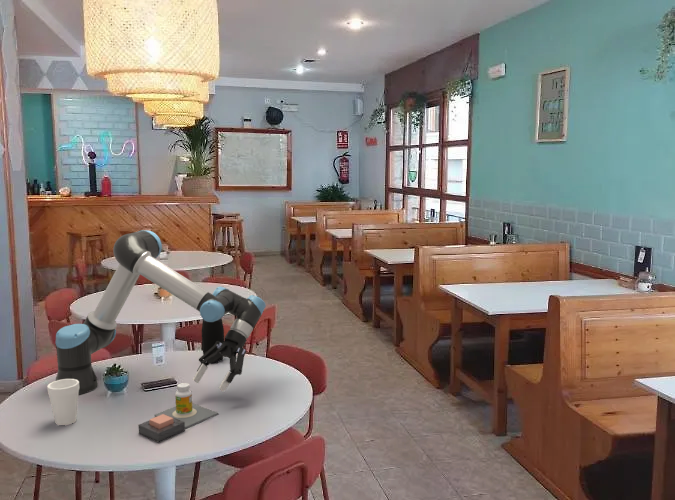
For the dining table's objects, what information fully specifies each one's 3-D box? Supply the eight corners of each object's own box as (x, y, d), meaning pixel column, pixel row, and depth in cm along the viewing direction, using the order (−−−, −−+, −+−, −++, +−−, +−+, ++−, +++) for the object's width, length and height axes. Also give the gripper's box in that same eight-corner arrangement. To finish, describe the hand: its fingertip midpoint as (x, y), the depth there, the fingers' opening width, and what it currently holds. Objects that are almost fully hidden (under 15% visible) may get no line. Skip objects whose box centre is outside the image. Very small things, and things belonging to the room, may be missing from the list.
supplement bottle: (173, 415, 202) (172, 387, 201) (179, 408, 208) (178, 381, 206) (189, 416, 202) (187, 388, 200) (194, 409, 207) (193, 382, 205)
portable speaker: (228, 360, 259) (227, 316, 256) (210, 366, 252) (209, 320, 249) (216, 356, 265) (215, 312, 262) (198, 361, 258) (197, 317, 255)
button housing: (138, 433, 190) (138, 424, 190) (165, 422, 198) (164, 414, 198) (158, 442, 184) (158, 433, 184) (184, 430, 192) (184, 422, 192)
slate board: (154, 416, 203) (154, 414, 203) (187, 403, 214) (187, 401, 214) (185, 429, 194) (185, 426, 193) (218, 414, 205) (218, 412, 205)
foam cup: (69, 429, 194) (66, 390, 192) (43, 426, 196) (41, 388, 194) (87, 416, 203) (84, 379, 201) (62, 414, 205) (60, 377, 203)
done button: (149, 425, 190) (149, 419, 190) (163, 419, 194) (163, 414, 194) (159, 430, 187) (159, 423, 187) (173, 424, 191) (173, 418, 191)
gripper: (268, 345, 216) (238, 398, 207) (220, 333, 231) (191, 382, 222) (257, 334, 211) (226, 388, 202) (209, 323, 226) (178, 373, 217)
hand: (208, 385), depth 212 cm, fingers open, 13 cm apart
